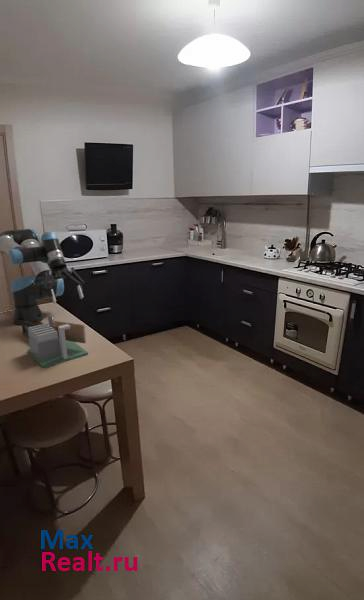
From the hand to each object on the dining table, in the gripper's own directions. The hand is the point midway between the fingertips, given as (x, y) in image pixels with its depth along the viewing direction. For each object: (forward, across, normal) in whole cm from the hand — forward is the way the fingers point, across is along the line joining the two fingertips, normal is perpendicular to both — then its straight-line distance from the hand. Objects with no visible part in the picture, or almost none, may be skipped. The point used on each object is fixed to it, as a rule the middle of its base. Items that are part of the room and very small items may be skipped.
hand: (68, 300), depth 174 cm
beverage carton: (+13, -16, +10) cm, 23 cm away
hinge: (+24, -10, -10) cm, 27 cm away
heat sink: (+26, -15, -10) cm, 31 cm away
